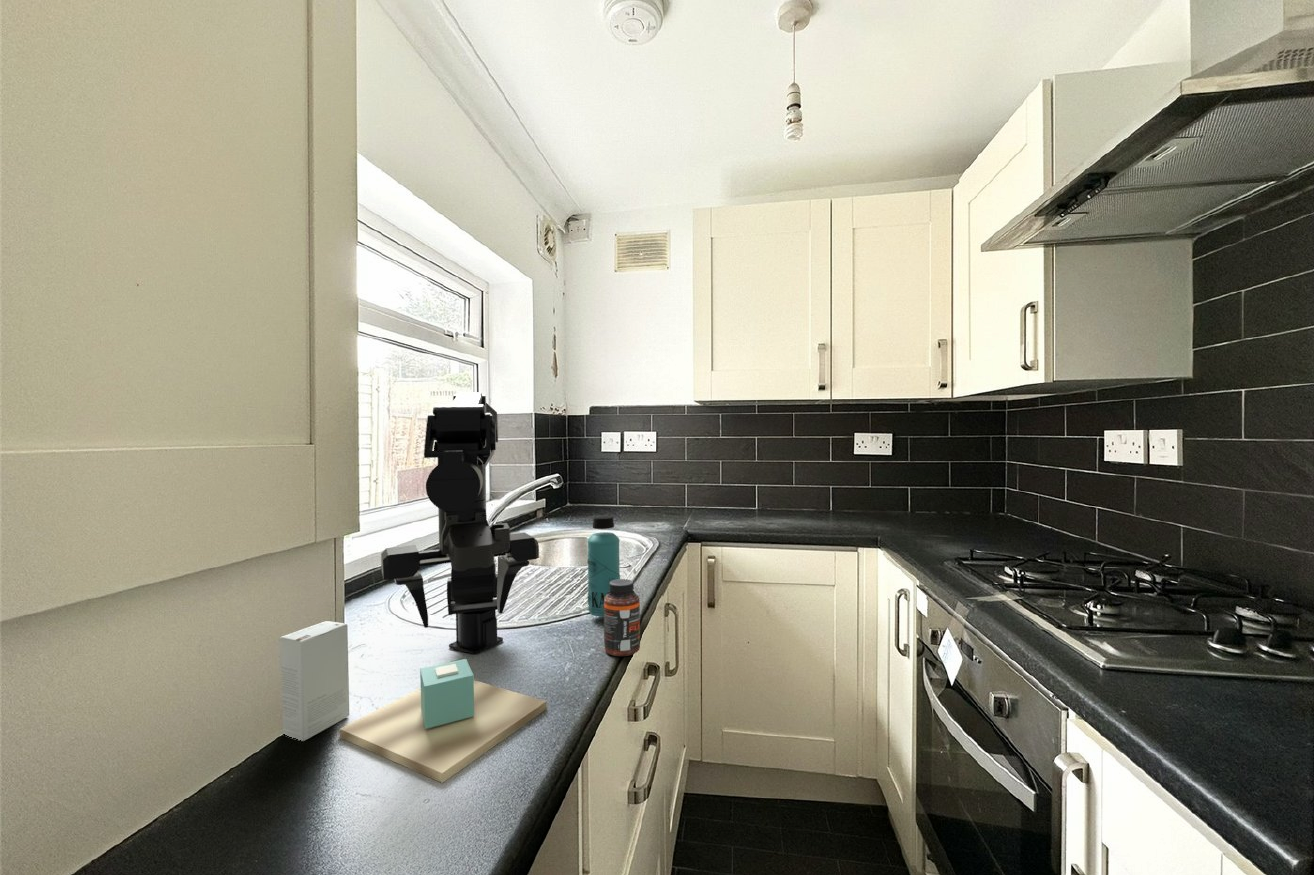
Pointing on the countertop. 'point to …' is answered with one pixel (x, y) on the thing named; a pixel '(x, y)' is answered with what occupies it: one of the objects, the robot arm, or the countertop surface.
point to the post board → (442, 730)
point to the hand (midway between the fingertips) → (464, 619)
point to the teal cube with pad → (446, 693)
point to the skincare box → (314, 678)
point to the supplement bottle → (621, 619)
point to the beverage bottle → (601, 564)
